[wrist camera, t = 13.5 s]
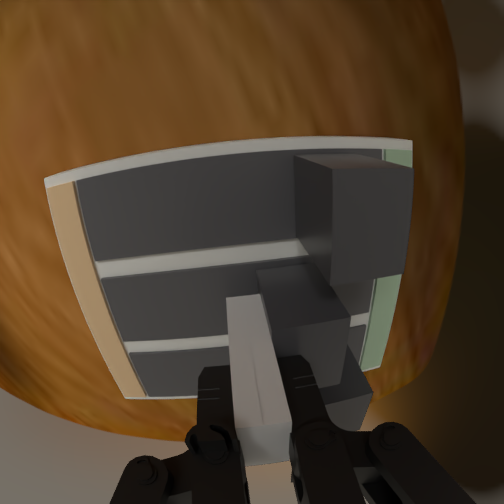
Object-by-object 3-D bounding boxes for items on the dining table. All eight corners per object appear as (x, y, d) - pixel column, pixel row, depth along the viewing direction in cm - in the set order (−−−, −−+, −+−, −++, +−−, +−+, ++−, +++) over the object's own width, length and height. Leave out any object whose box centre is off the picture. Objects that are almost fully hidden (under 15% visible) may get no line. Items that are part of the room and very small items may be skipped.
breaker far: (295, 385, 17) (311, 442, 13) (296, 345, 15) (317, 406, 11) (336, 377, 17) (359, 429, 13) (343, 336, 16) (373, 392, 12)
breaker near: (296, 236, 13) (329, 286, 9) (293, 155, 11) (332, 168, 7) (353, 230, 13) (403, 273, 9) (355, 153, 12) (414, 168, 8)
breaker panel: (130, 378, 19) (124, 401, 17) (62, 171, 13) (41, 179, 11) (369, 349, 20) (381, 369, 18) (391, 137, 14) (415, 140, 12)
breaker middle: (260, 331, 15) (274, 396, 11) (255, 269, 13) (271, 330, 9) (313, 323, 15) (339, 383, 11) (315, 262, 13) (351, 317, 9)
